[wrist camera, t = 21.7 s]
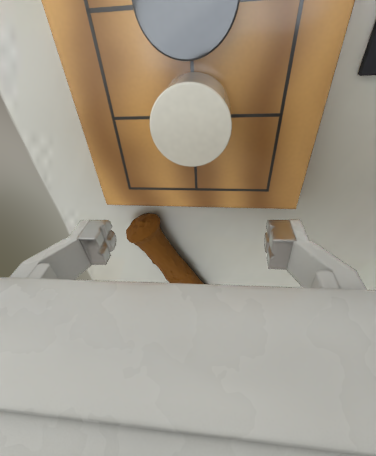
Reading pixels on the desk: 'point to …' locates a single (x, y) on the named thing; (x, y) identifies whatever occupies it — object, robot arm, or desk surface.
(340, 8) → the go board
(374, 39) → the stone mat
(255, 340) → the robot arm
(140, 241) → the primitive tool
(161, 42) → the black stone
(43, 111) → the desk surface
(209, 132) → the white stone
